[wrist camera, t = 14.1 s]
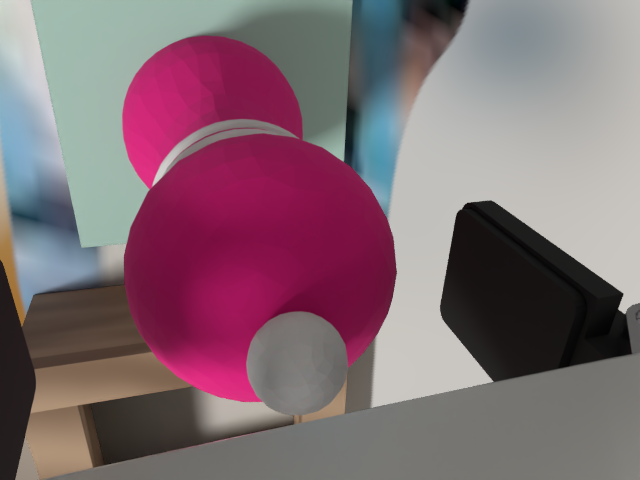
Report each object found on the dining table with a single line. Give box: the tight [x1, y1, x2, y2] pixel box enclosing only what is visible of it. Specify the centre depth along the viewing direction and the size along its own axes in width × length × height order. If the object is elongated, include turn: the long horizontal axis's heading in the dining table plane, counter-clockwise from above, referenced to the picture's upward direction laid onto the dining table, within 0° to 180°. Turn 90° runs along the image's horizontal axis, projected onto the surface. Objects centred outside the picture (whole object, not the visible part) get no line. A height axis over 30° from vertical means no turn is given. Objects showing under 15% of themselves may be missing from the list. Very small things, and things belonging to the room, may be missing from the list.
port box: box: [22, 285, 348, 480], centre depth 31 cm, size 16×16×6 cm
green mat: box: [31, 0, 353, 248], centre depth 26 cm, size 14×14×1 cm
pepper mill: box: [122, 36, 397, 416], centre depth 17 cm, size 7×7×20 cm
